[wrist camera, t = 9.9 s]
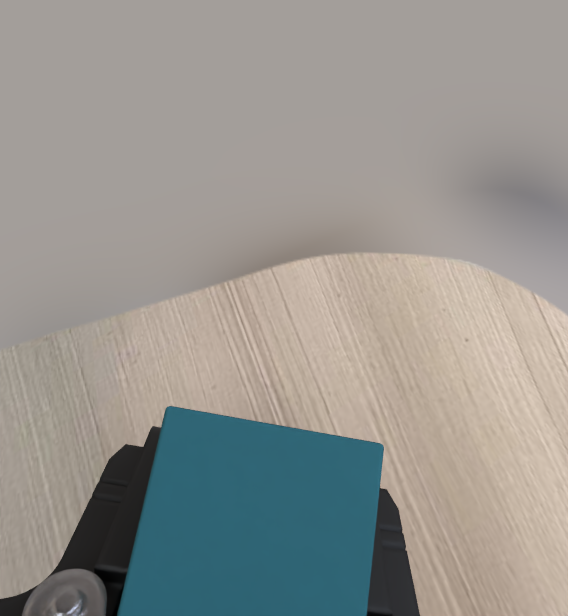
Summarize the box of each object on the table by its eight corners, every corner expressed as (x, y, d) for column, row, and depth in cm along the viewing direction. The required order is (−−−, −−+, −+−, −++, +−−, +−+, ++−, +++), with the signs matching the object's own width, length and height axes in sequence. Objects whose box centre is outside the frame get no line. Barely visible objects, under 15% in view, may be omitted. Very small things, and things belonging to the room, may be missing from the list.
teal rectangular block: (159, 605, 15) (64, 835, 6) (199, 419, 17) (166, 405, 8) (279, 623, 15) (342, 868, 7) (307, 438, 17) (385, 444, 8)
